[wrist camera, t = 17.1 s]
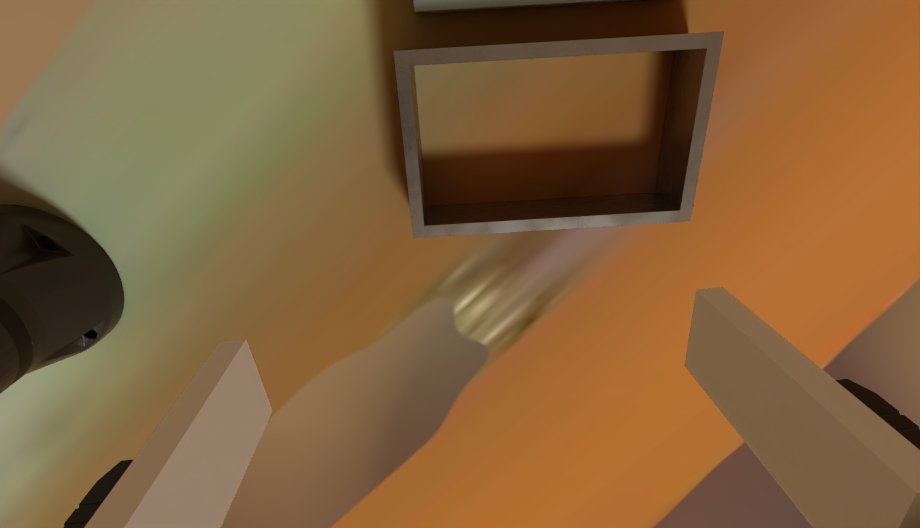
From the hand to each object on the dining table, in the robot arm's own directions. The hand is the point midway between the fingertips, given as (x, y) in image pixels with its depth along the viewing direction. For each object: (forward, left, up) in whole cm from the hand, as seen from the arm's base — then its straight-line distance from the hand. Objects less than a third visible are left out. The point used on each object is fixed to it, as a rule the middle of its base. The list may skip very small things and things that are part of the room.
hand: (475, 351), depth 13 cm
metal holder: (+8, +1, -29) cm, 30 cm away
